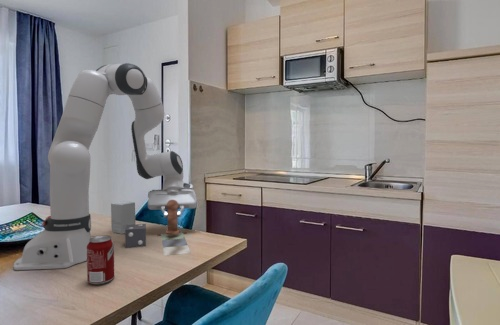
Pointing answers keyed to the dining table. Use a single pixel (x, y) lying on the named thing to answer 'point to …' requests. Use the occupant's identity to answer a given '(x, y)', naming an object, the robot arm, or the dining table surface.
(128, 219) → the supplement box
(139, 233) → the die
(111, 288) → the dining table surface
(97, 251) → the soda can
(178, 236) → the game board
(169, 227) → the pawn
